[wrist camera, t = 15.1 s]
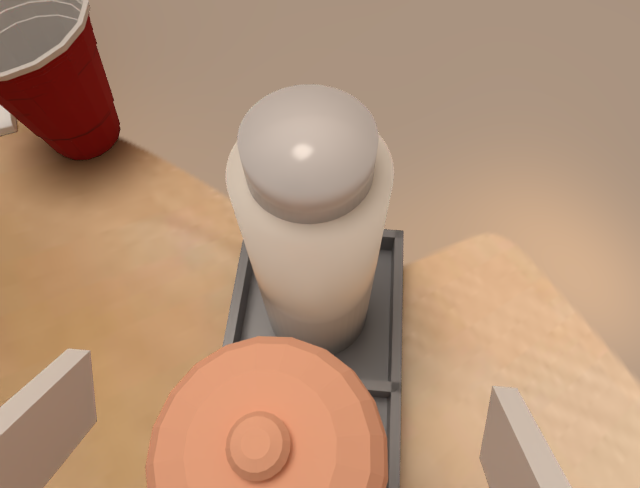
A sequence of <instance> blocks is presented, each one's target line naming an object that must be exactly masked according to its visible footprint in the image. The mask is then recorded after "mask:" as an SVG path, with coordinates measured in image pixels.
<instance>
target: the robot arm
mask: <svg viewBox="0 0 640 488" xmlns="http://www.w3.org/2000/svg"><path fill="white" fill-rule="evenodd" d="M96 422H97V417H96V406H95V396H94V385H93V375H92V364H91V353H90V350H79V349H67V350H66V351H64V352H63V353H62V354H61V355H60V356H59V357H58V358H56V359H55V360H54V361H53V362H52V363H51V364H49V365H48V366H47V367H46V368H45V369H44V370H43V371H41V372H40V373H39V374H38V375H37V376H36V377H34V378H33V379H32V380H31V381H30V382H29V383H28V384H26V385H25V386H24V387H23V388H22V389H21V390H19V391H18V392H17V393H16V394H15V395H14V396H13V397H11V398H10V399H9V400H8V401H7V402H6V403H4V404H3V405H2V406H1V407H0V488H43V487H44V486H45V485H46V484H47V482H48V481H49V480H50V479H51V478H52V476H53V475H54V474H55V473H56V471H57V470H58V469H59V468H60V466H61V465H62V464H63V463H64V461H65V460H66V459H67V458H68V456H69V455H70V454H71V453H72V451H73V450H74V449H75V448H76V446H77V445H78V444H79V443H80V441H81V440H82V439H83V438H84V437H85V435H86V434H87V433H88V432H89V430H90V429H91V428H92V427H93V425H94V424H95V423H96ZM479 458H480V461H481V464H482V467H483V470H484V473H485V476H486V479H487V482H488V485H489V488H572V487H571V485H570V483H569V481H568V480H567V478H566V476H565V474H564V472H563V470H562V469H561V467H560V465H559V463H558V461H557V460H556V458H555V456H554V454H553V452H552V450H551V449H550V447H549V445H548V443H547V441H546V440H545V438H544V436H543V434H542V432H541V430H540V429H539V427H538V425H537V423H536V421H535V420H534V418H533V416H532V414H531V412H530V410H529V409H528V407H527V405H526V403H525V401H524V400H523V398H522V396H521V394H520V392H519V391H518V389H517V388H511V387H500V386H492V391H491V397H490V402H489V408H488V413H487V419H486V424H485V430H484V435H483V441H482V446H481V452H480V457H479Z"/></svg>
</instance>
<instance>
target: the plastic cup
mask: <svg viewBox="0 0 640 488" xmlns="http://www.w3.org/2000/svg"><path fill="white" fill-rule="evenodd" d="M89 11H90V5H89V2H88V0H0V105H1V106H2V107H3V108H4V109H6V110H7V111H8V112H9V113H10V114H12V115H13V116H14V117H15V118H16V119H18V120H19V121H20V122H21V123H22V124H24V125H25V126H26V127H27V128H28V129H30V130H31V131H32V132H33V133H34V134H36V135H37V136H39V137H41V138H42V139H43V140H44V141H45V142H47V143H48V144H49V145H50V146H51V147H52V148H53V149H54V150H56V151H57V152H58V153H60V154H62V155H63V156H65V157H68V158H71V159H74V160H87V159H91V158H94V157H97V156H100V155H102V154H103V153H104V152H106V151H107V150H109V149H110V148H111V147H112V146H113V145H114V143H115V142H116V141H117V139H118V137H119V132H120V126H119V125H120V123H119V119H118V116H117V113H116V110H115V106H114V103H113V101H114V99H113V96H112V93H111V90H110V87H109V84H108V80H107V77H106V74H105V71H104V68H103V65H102V62H101V59H100V56H99V53H98V49H97V46H96V44H97V42H96V39H95V36H94V33H93V28H92V25H91V23H90V17H89Z"/></svg>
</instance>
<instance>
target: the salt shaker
mask: <svg viewBox="0 0 640 488" xmlns="http://www.w3.org/2000/svg"><path fill="white" fill-rule="evenodd" d="M393 180H394V165H393V160H392V156H391V154H390V151H389V148H388V147H387V145H386V143H385V142H384V140H383V139H382V137H381V136H380V135H379V133H378V129H377V125H376V122H375V120H374V118H373V116H372V114H371V113H370V111H369V110H368V109H367V107H365V105H364V104H363V103H362V102H360V101H359V100H358V99H356V98H355V97H354V96H352V95H350V94H348V93H346V92H344V91H342V90H339V89H336V88H333V87H329V86H324V85H316V84H305V85H295V86H290V87H286V88H283V89H280V90H277V91H275V92H272V93H270V94H268V95H267V96H265V97H263V98H262V99H260V100H259V101H258V102H257V103H255V104H254V105H253V106H252V108H250V110H249V111H248V112H247V113H246V115H245V117H244V118H243V120H242V122H241V124H240V127H239V130H238V136H237V142H236V143H235V145H234V147H233V149H232V151H231V153H230V155H229V158H228V161H227V166H226V185H227V190H228V194H229V197H230V200H231V203H232V206H233V209H234V212H235V215H236V218H237V222H238V225H239V228H240V231H241V234H242V237H243V240H244V243H245V246H246V249H247V253H248V256H249V259H250V262H251V265H252V268H253V271H254V274H255V277H256V280H257V284H258V287H259V290H260V293H261V296H262V299H263V302H264V305H265V308H266V311H267V315H268V318H269V321H270V324H271V327H272V329H273V331H274V333H275V335H276V336H277V337H293V338H295V339H298V340H301V341H304V342H307V343H310V344H312V345H315V346H318V347H321V348H324V349H326V350H327V351H329V352H330V353H331V354H333V355H334V354H336V353H339V352H341V351H343V350H344V349H346V348H347V347H349V346H350V345H351V344H352V343H353V342H354V341H355V340H356V339H357V337H358V336H359V334H360V333H361V331H362V329H363V326H364V324H365V320H366V315H367V310H368V305H369V300H370V295H371V290H372V285H373V281H374V276H375V271H376V266H377V261H378V256H379V251H380V246H381V241H382V236H383V231H384V226H385V221H386V216H387V211H388V206H389V201H390V196H391V191H392V186H393Z"/></svg>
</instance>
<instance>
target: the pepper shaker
mask: <svg viewBox="0 0 640 488" xmlns="http://www.w3.org/2000/svg"><path fill="white" fill-rule="evenodd" d="M145 469H146V479H147V488H386V486H387V482H388V449H387V436H386V433H385V430H384V426H383V423H382V420H381V417H380V414H379V411H378V408H377V405H376V402H375V400H374V399H373V397H372V396H371V394H370V393H369V391H368V390H367V389H366V387H365V386H364V384H363V383H362V381H361V380H360V379H359V377H358V376H357V374H356V373H355V372H354V370H352V369H351V368H350V367H348V366H347V365H346V364H344V363H343V362H342V361H341V360H339V359H338V358H337V357H335V356H334V355H333V354H331V353H330V352H329V351H327V350H326V349H324V348H321V347H318V346H315V345H312V344H310V343H307V342H304V341H301V340H298V339H295V338H293V337H269V336H257V337H254V338H250V339H246V340H243V341H239V342H236V343H232V344H228V345H225V346H224V347H222V348H220V349H219V350H217V351H216V352H214V353H212V354H211V355H209V356H208V357H206V358H204V359H203V360H201V361H200V362H198V363H196V364H195V365H194V366H193V367H192V368H191V370H190V371H189V372H188V373H187V374H186V375H185V376H184V377H183V378H182V380H181V381H180V382H179V383H178V384H177V385H176V386H175V387H174V388H173V390H172V391H171V392H170V394H169V396H168V398H167V400H166V402H165V404H164V406H163V408H162V410H161V412H160V414H159V416H158V418H157V420H156V422H155V424H154V426H153V429H152V434H151V439H150V445H149V450H148V455H147V461H146V466H145Z"/></svg>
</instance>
